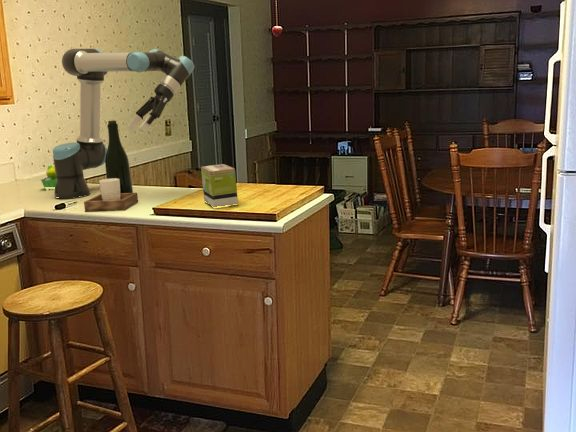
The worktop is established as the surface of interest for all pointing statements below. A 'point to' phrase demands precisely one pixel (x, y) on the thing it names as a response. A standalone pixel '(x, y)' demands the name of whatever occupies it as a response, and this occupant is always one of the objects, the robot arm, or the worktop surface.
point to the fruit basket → (50, 177)
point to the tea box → (219, 185)
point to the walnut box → (111, 203)
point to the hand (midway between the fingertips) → (135, 129)
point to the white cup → (110, 189)
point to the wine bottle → (117, 160)
